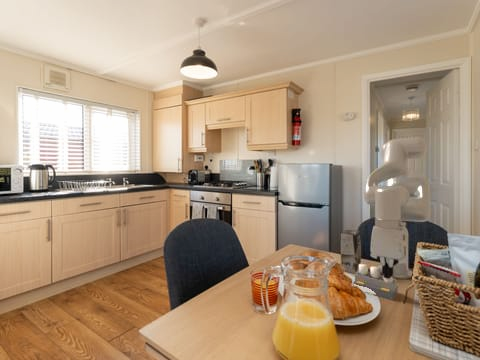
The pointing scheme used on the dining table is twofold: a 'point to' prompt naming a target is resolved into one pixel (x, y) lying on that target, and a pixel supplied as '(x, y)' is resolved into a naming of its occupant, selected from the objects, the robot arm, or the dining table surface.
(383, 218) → the robot arm
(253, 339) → the dining table surface
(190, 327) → the dining table surface
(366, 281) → the button board
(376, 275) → the middle button
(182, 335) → the dining table surface
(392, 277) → the end button
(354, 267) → the coffee box
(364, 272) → the end button
